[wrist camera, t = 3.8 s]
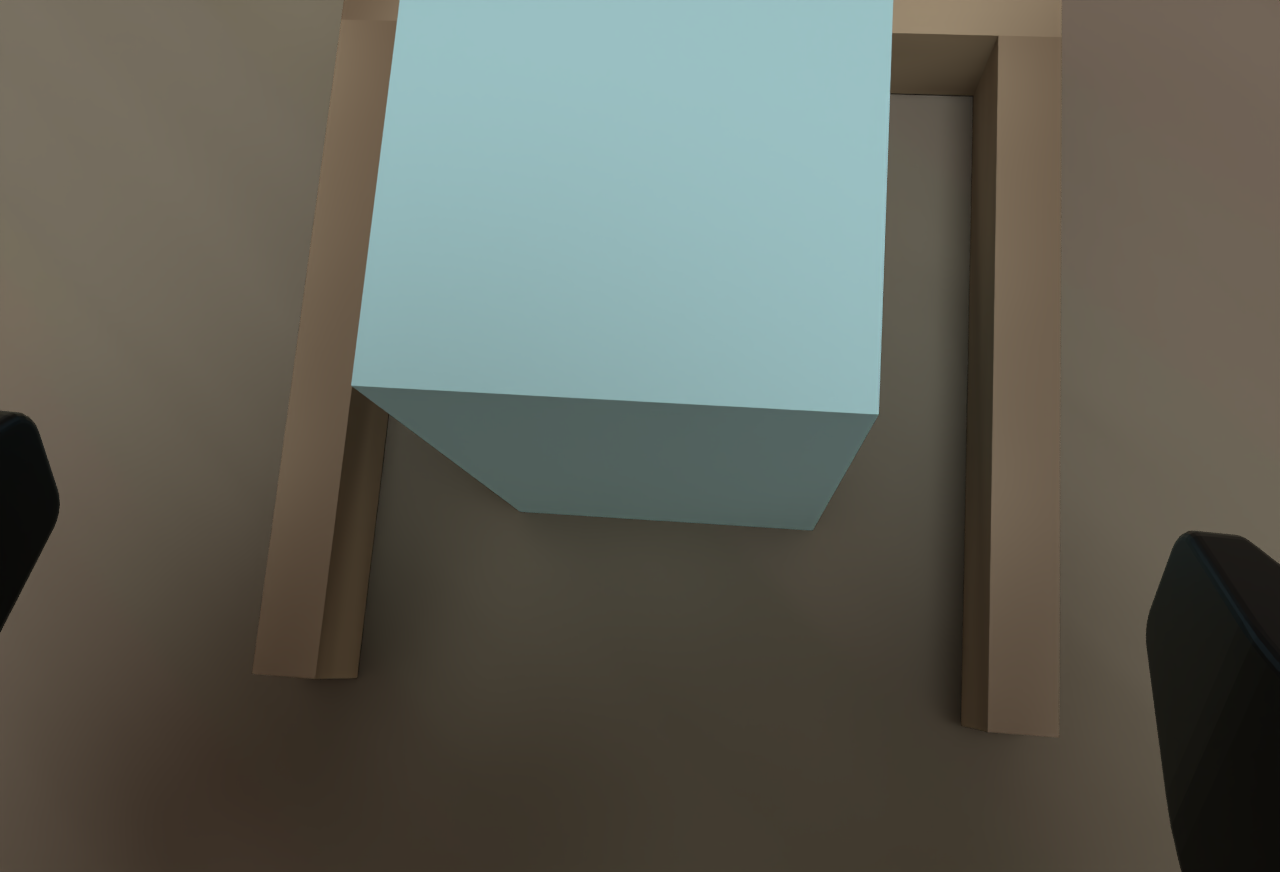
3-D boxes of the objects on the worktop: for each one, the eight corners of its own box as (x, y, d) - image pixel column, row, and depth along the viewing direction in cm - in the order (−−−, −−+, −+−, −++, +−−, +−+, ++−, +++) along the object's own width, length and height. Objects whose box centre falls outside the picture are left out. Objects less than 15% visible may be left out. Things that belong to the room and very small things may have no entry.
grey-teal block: (519, 511, 20) (351, 384, 11) (546, 237, 21) (409, -79, 12) (812, 530, 19) (878, 414, 11) (825, 248, 20) (895, -71, 12)
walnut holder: (299, 673, 20) (251, 673, 18) (382, 29, 22) (348, -33, 20) (1024, 730, 18) (1059, 737, 16) (1031, 46, 21) (1062, -19, 19)
